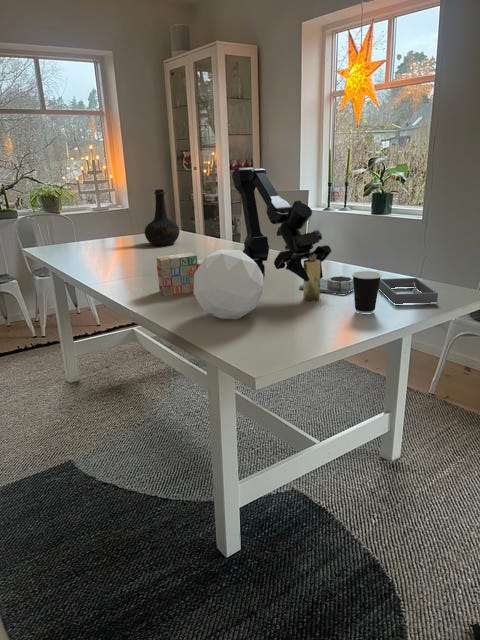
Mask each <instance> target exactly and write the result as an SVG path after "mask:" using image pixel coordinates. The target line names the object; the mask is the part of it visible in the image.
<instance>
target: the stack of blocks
mask: <svg viewBox="0 0 480 640" xmlns="http://www.w3.org/2000/svg"><path fill="white" fill-rule="evenodd" d="M203 260H204V259H200V260H199V259H198V256H197V254H194V253H193V252H186V253H176V254H172V255H171V254H170V255H161V256H156V271H157V277H158V289H159V292H160V293H161V294H162V295H163V296H172V295H173V294H174V295H179V294H180V293H181V294H187V292H188V293H194V274H195V272H196V271H197V269H198V268H199V266H200V265H201V263H202V262H203ZM174 295H173V296H174Z"/></svg>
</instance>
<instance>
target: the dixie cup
mask: <svg viewBox="0 0 480 640" xmlns="http://www.w3.org/2000/svg"><path fill="white" fill-rule="evenodd" d="M351 276H352V278H353V285H354V290H353V297H354V309H355V312H356V311H357V312H359V313H372V312H373V311H375V309H376V306H377V305H376V304H377V300H378V293H379V290H378V289H379V283H380V279H381V278H382V276H383V275H382V273H380V272H378V271H370V270H361V271H360V270H359V271H354V272H352V273H351Z"/></svg>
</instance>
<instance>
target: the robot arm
mask: <svg viewBox="0 0 480 640" xmlns="http://www.w3.org/2000/svg"><path fill="white" fill-rule="evenodd" d="M231 179H232V181H233V185H234V188H235V189H236V191H237V192H238V193H239V195H240V197H241V204H242V210H243V215H244V224H245V230H246V237H245V239H244V242H243V246H244V249H243V250H242V252H243V253H245V254H246V255H247V256H249V257H250V258H251V259H252V260H254V262H255V263H256V264H257V265H258V267H259V269H260V270H261V272H262V274H263V280H264V279H265V278H264V277H265V274H266V273H265V269H266V267H265V264H264V262H267V261H268V259H269V252H270V245H269V239H268V236H267V235H264V234H263V233H262V231H261V225H260V219H259V213H258V207H257V201H256V193H255V191H256V189H257V191H258V193H259V194H260V197H261V198H262V200H263V201H264V203H265V206H266V215H267V217H268V220H269V222H270V223H271V224H272V225H279V224H280V226H278V227H277V231H276V236H277V237H280V236H281V237H282V239H283V241H284V243H285V246H284V249H285V250H283V251H279V253H278V255H277V256H276V257H275V259H274V261H273V265H274V267H275V269H276V270H281V269H285V270H287V271H289V272H291V273H293V274H295V275H297V276H298V277H299V278H300V279H302V280H303V281H304V280H305V281H308V280H309V279H308V276H307V274H306V272H305V270H304V265H303V264H302V260H303V261H304V260H308V256H310V255H315V256H316V260H320V279H323V277H324V276H323V267H322V262H324V261H325V260H326V259H327V258H328V257H329V255H330V254H331V253H332V252H333V251H332V248H331V247H330V245H328V244H325V245H318V246H317V247H316V248H315V249H314V251H311V250H312V249H313V248H314V245H315V244H319V242H320V241H321V240H322V239H323V237H322V233H321V231H320V230H319V229H317V230H315V229H314V230H313V231H311V232H306V233H304V234H302V232H301V231H300V230H301V229H303V228H304V227H305V225H306V224H307V222H308V221H309V219H310V218H311V216H312V214H313V211H312V208H311V207H310V206H308V205H307V204H306V203H302V201H301V200H295V201H293V204H292V205H290V204H289V203H288V201H286V200H285V199H283V198H282V197H281V196H280V195H279V193H278V192H277V190H276V189H275V186H274V185H273V183H272V182H271V180H270V179H269V177H268V176H267V170H266V169H264V168H262V167H260V168H259V167H258V168H256V167H255V168H254V167H253V166H251V167H250V166H247V167H246V166H245V167H244V166H243V167H236V168H234V171H233V172H232V174H231Z"/></svg>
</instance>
